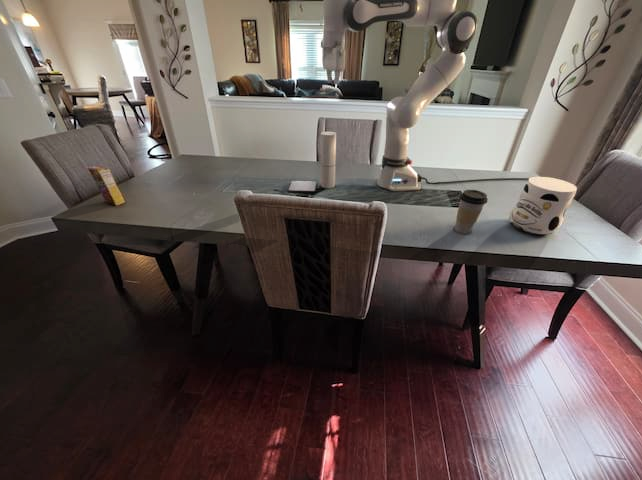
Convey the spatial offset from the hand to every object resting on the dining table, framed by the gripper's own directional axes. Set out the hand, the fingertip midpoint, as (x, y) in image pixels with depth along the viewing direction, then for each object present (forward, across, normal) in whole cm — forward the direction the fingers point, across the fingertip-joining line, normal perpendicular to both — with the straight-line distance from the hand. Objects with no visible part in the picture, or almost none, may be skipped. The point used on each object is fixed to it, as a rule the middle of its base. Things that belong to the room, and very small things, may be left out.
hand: (332, 83), depth 121 cm
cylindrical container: (+44, -2, +2) cm, 44 cm away
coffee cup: (+44, -61, -36) cm, 83 cm away
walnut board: (+44, -2, +16) cm, 47 cm away
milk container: (+44, -66, -64) cm, 102 cm away
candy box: (+44, +2, +101) cm, 110 cm away
